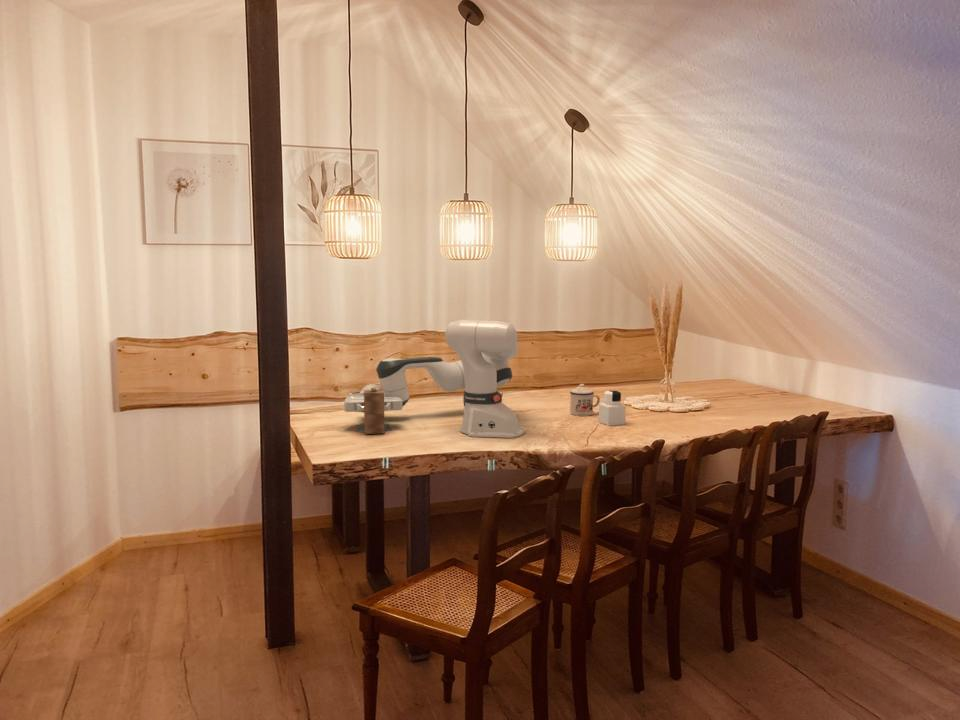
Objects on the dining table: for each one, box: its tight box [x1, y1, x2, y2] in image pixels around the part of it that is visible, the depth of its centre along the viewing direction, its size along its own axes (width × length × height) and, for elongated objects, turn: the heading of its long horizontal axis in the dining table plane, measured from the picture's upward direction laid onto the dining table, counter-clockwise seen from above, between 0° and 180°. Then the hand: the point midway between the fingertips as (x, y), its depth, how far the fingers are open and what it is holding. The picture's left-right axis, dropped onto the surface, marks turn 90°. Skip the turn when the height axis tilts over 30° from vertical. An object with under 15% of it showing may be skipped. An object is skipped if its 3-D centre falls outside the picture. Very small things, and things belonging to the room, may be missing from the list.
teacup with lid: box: [569, 383, 601, 417], centre depth 315 cm, size 12×9×12 cm
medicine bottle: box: [598, 390, 626, 427], centre depth 297 cm, size 7×7×12 cm
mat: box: [355, 422, 392, 433], centre depth 289 cm, size 12×12×1 cm
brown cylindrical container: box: [363, 388, 386, 435], centre depth 280 cm, size 7×7×15 cm
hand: (374, 408), depth 279 cm, fingers closed on brown cylindrical container, 7 cm apart
